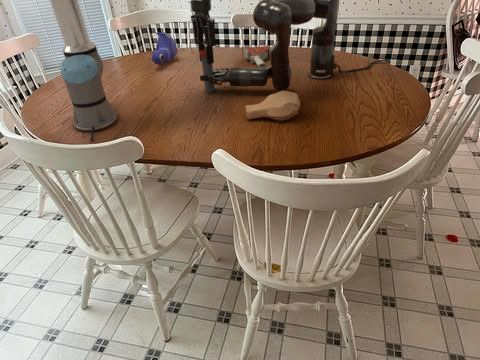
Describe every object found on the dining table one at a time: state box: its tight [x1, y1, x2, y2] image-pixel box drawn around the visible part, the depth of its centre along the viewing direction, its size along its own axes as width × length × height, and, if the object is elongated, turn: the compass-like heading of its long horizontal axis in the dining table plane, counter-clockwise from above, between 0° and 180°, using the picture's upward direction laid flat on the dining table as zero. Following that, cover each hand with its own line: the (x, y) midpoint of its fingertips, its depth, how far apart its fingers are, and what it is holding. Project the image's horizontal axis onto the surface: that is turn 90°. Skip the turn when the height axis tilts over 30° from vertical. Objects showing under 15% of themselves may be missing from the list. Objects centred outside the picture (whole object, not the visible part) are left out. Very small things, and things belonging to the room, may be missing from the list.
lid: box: [199, 48, 207, 58], centre depth 143 cm, size 5×5×2 cm
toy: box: [150, 31, 178, 69], centre depth 181 cm, size 10×17×25 cm
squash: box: [244, 90, 301, 122], centre depth 127 cm, size 11×20×9 cm, turn 92°
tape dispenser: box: [243, 45, 270, 68], centre depth 179 cm, size 18×5×20 cm
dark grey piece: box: [201, 57, 216, 94], centre depth 148 cm, size 4×4×16 cm
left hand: (207, 61), depth 145 cm, fingers closed on lid, 5 cm apart
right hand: (202, 76), depth 149 cm, fingers closed on dark grey piece, 4 cm apart
